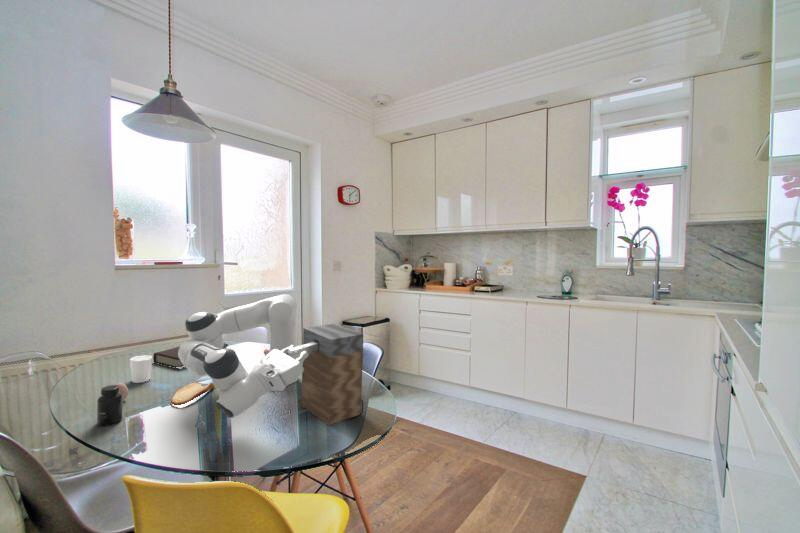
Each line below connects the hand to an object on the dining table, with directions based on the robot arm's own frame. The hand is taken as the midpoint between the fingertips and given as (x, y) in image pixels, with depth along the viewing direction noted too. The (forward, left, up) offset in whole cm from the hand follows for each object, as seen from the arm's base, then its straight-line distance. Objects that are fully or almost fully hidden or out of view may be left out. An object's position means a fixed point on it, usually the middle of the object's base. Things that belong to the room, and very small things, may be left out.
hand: (300, 349), depth 129 cm
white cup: (-61, +58, -26) cm, 88 cm away
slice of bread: (-37, +33, -26) cm, 57 cm away
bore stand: (+12, +5, -26) cm, 29 cm away
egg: (-63, +36, -26) cm, 77 cm away
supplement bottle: (-61, +19, -26) cm, 68 cm away
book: (-44, +84, -26) cm, 99 cm away
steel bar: (+5, +2, -1) cm, 5 cm away
